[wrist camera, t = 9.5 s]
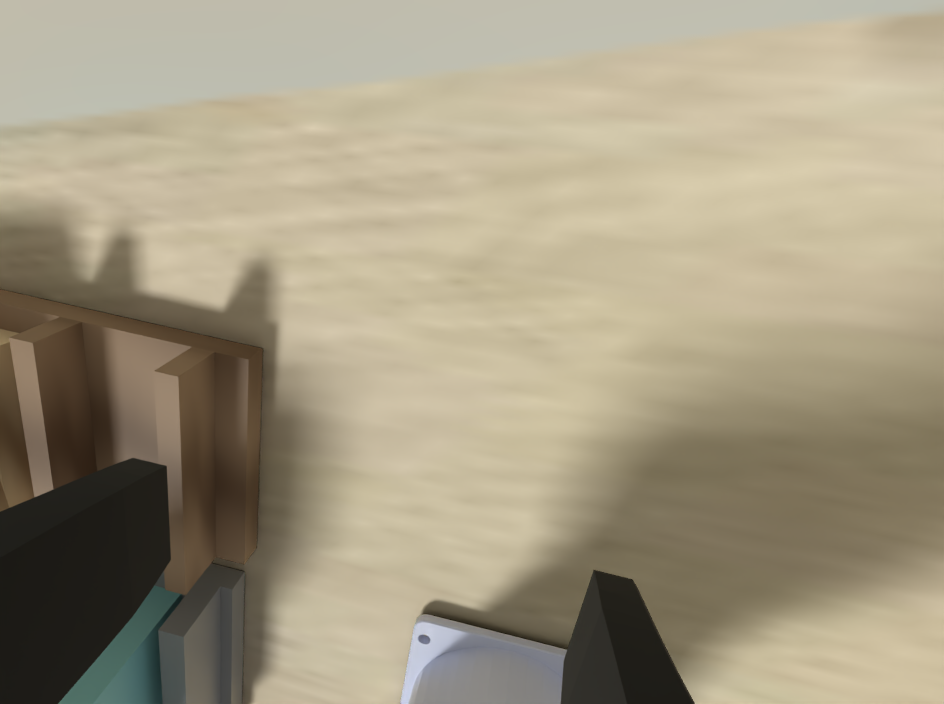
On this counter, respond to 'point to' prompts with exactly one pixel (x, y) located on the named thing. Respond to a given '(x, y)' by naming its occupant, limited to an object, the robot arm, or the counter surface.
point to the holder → (205, 641)
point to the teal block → (129, 659)
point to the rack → (144, 418)
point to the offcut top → (3, 499)
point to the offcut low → (12, 432)
